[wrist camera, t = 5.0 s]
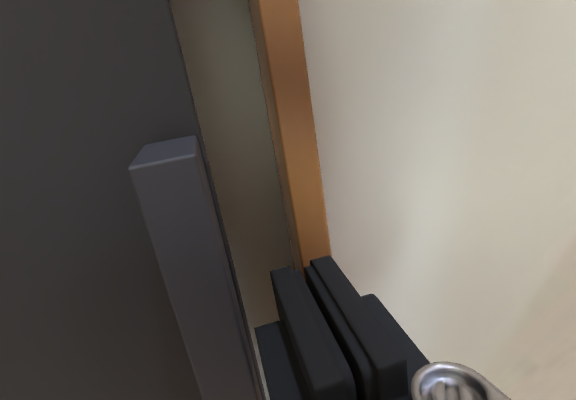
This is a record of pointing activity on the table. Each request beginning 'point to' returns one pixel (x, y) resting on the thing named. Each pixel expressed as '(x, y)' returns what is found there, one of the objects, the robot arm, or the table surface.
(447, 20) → the table surface
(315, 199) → the brown wooden rectangular frame
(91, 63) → the lid
